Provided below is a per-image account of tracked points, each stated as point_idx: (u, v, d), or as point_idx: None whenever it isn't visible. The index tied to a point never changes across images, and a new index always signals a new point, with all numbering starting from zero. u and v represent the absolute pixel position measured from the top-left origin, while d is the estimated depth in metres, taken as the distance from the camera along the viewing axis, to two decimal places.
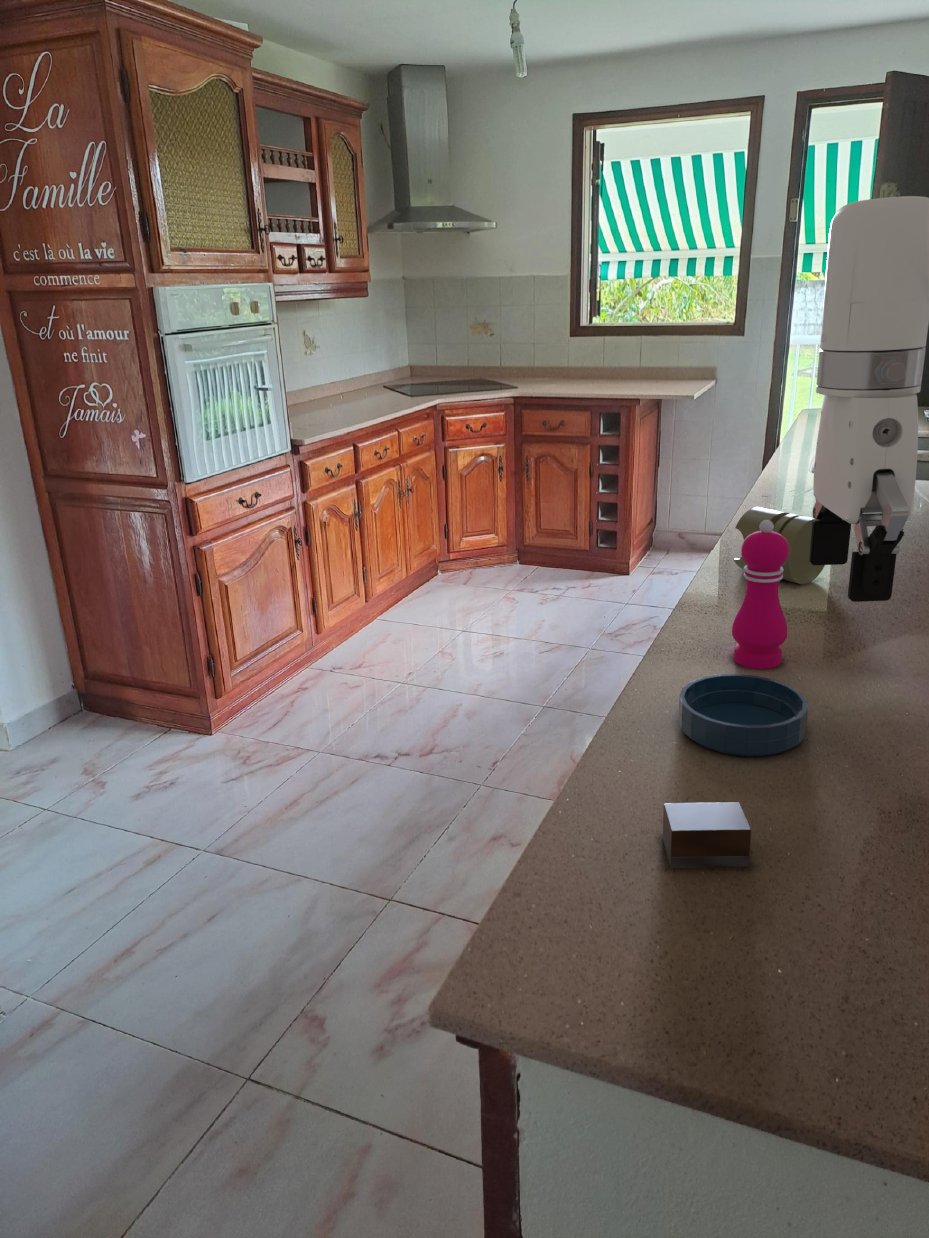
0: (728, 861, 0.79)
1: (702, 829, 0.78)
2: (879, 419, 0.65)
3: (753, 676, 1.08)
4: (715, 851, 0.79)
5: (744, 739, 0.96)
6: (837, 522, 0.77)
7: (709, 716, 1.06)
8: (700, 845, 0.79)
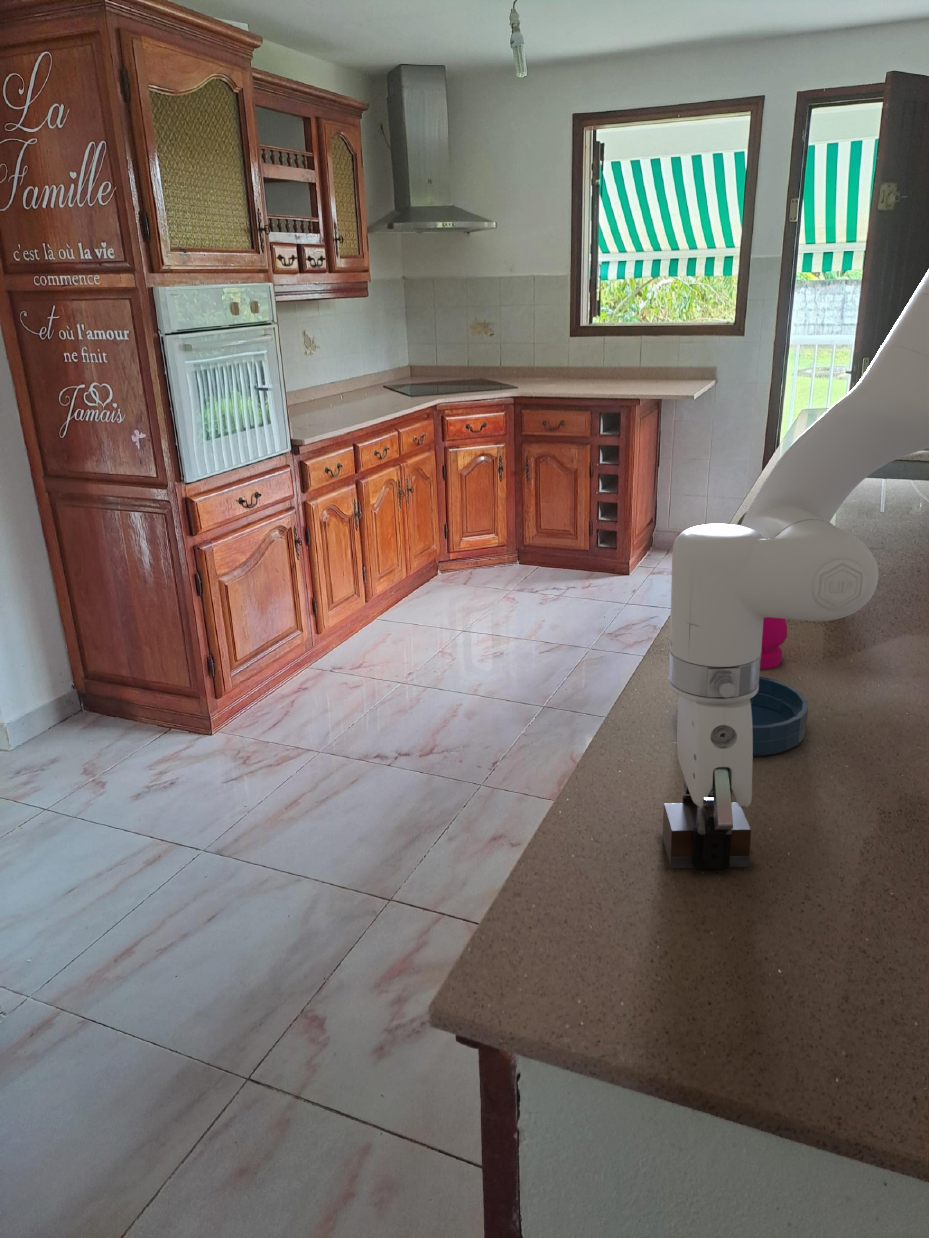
0: None
1: None
2: (716, 725, 0.72)
3: None
4: None
5: None
6: None
7: None
8: None
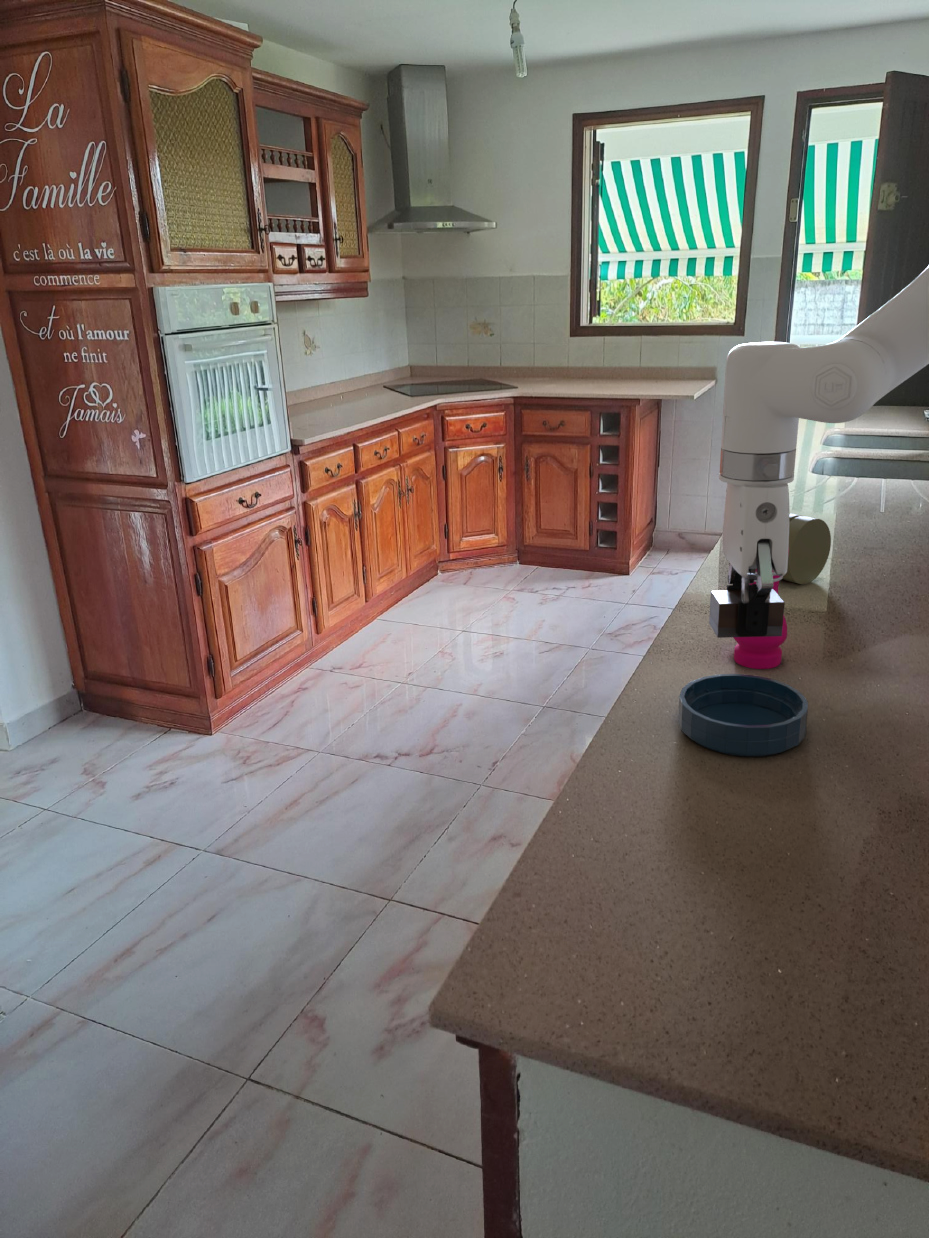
0: None
1: None
2: (760, 503, 0.89)
3: (753, 676, 1.08)
4: None
5: (744, 739, 0.96)
6: None
7: (709, 716, 1.06)
8: None
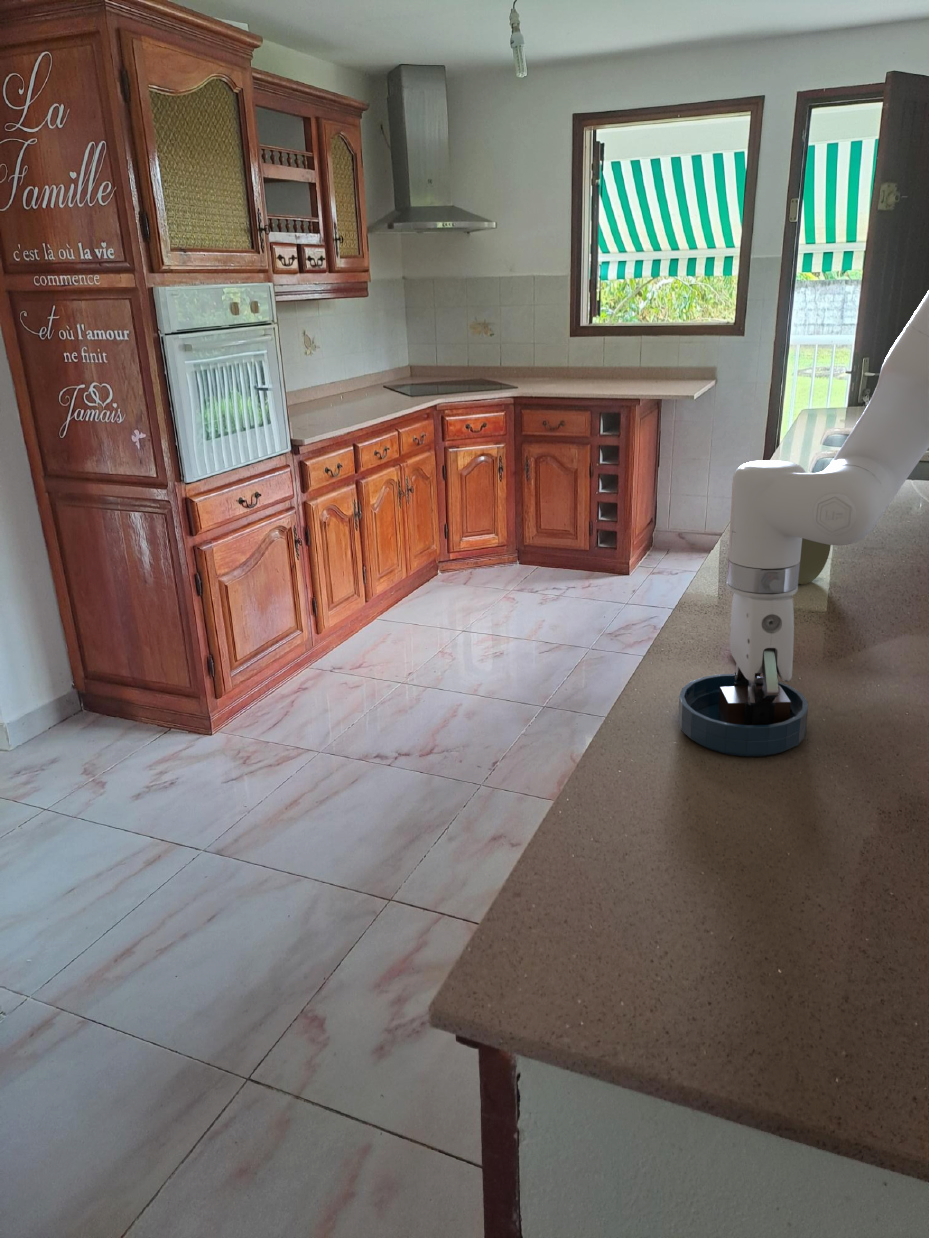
0: None
1: None
2: (766, 614, 0.94)
3: None
4: None
5: (744, 739, 0.96)
6: None
7: (709, 716, 1.06)
8: None
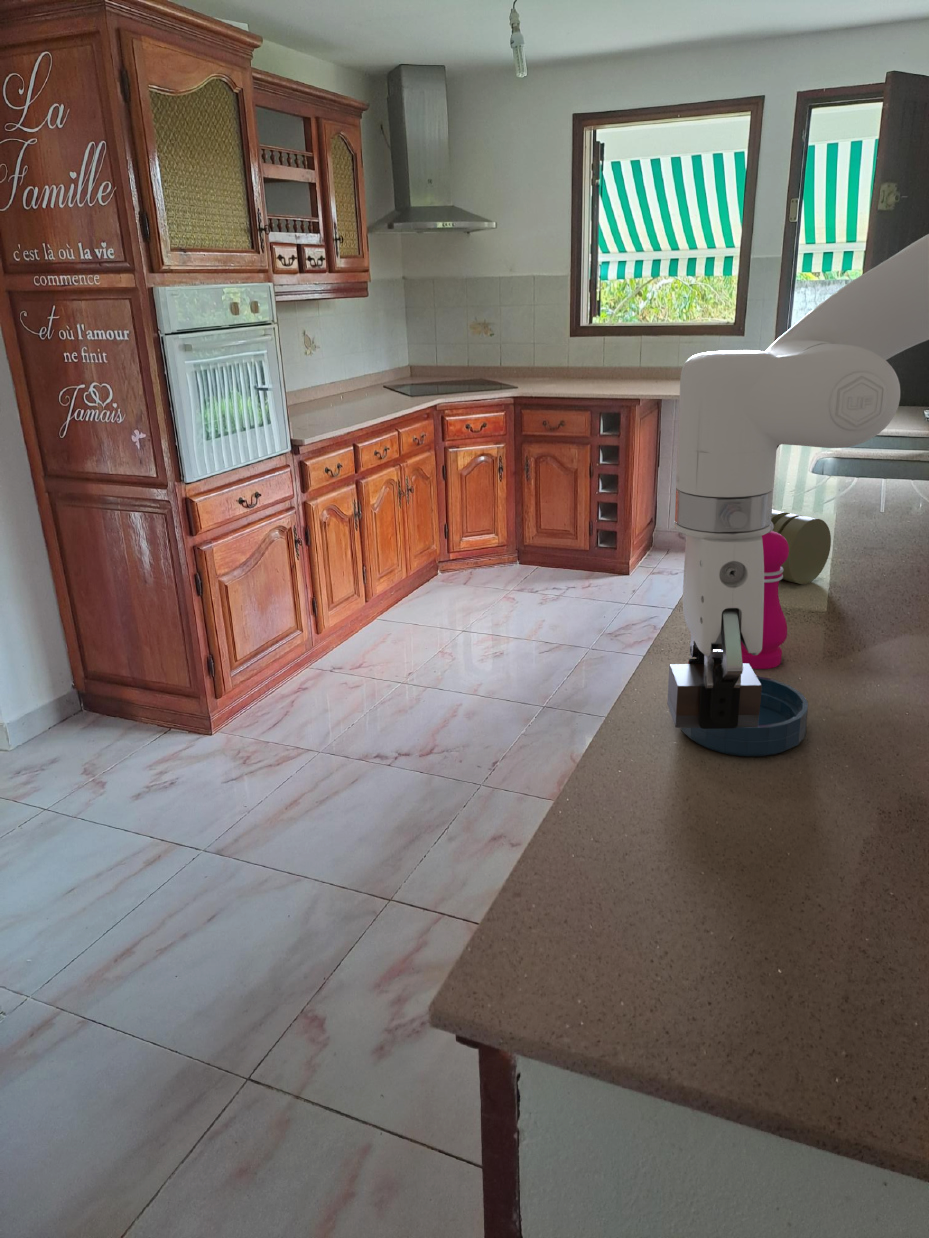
0: None
1: None
2: (725, 562, 0.68)
3: None
4: None
5: (744, 739, 0.96)
6: None
7: None
8: None
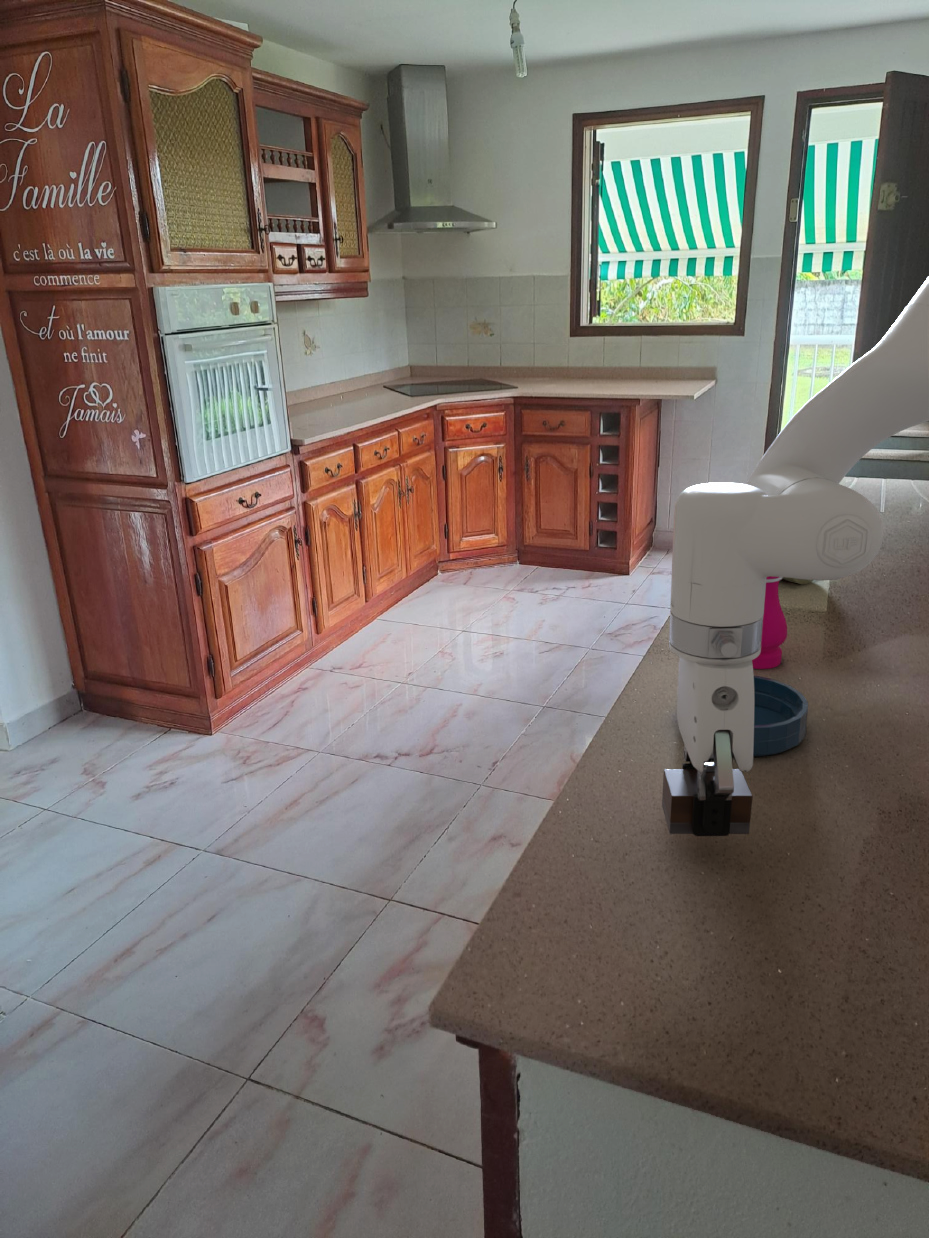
0: None
1: None
2: (717, 686, 0.71)
3: None
4: None
5: None
6: None
7: None
8: None
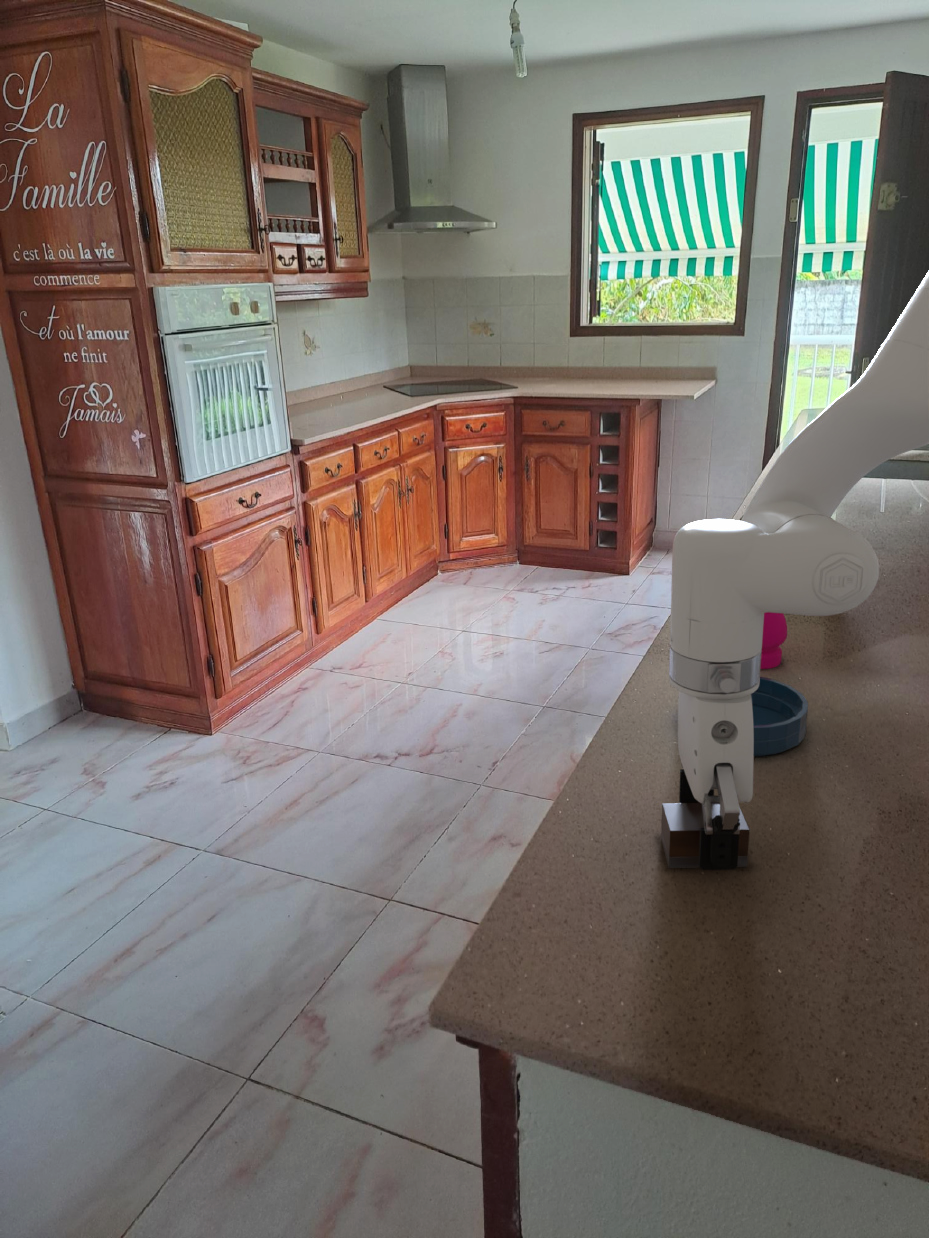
0: None
1: None
2: (717, 721, 0.72)
3: None
4: None
5: None
6: None
7: None
8: (699, 845, 0.79)
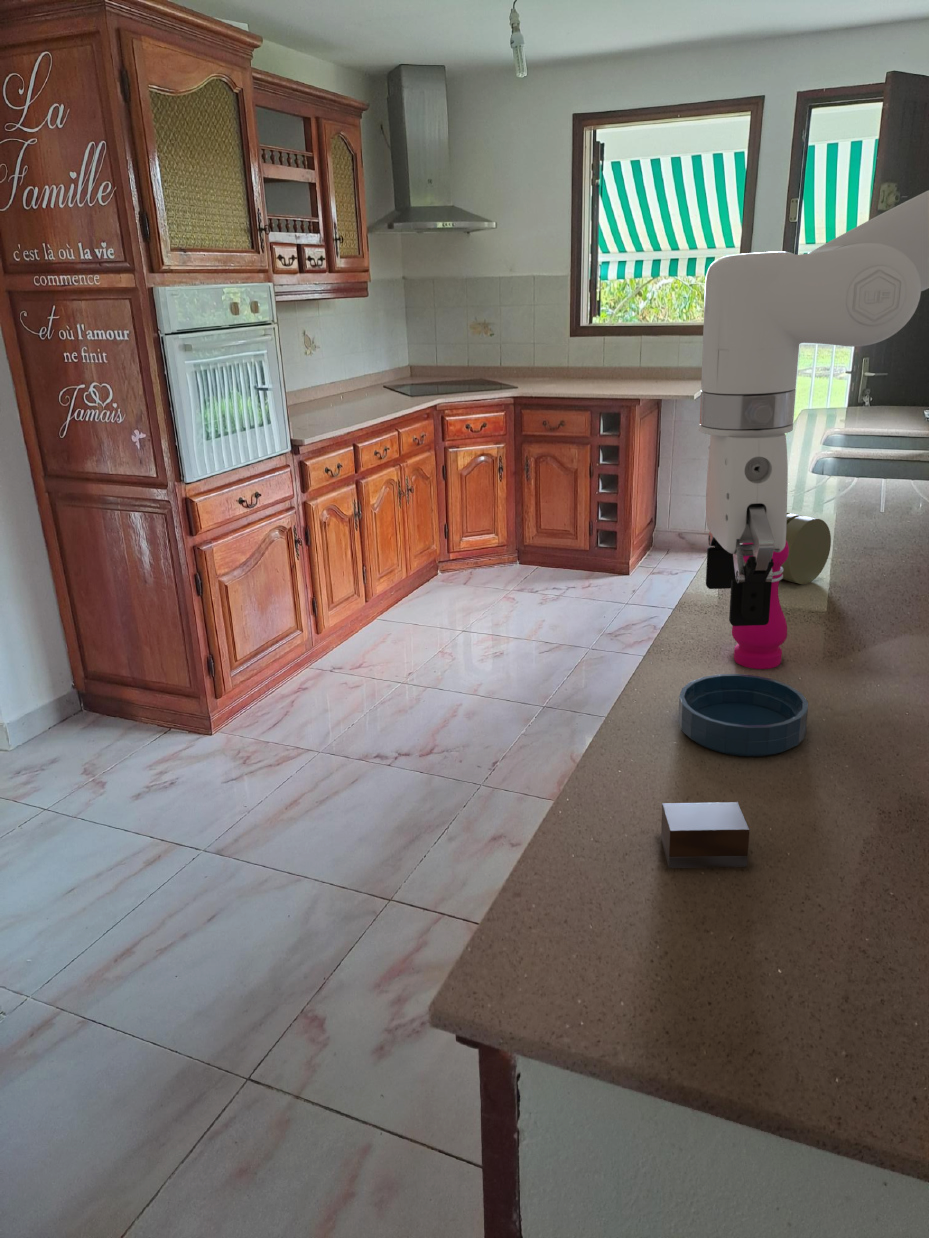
0: (726, 861, 0.79)
1: (700, 829, 0.78)
2: (750, 457, 0.70)
3: (753, 676, 1.08)
4: (714, 851, 0.79)
5: (744, 739, 0.96)
6: None
7: (709, 716, 1.06)
8: (699, 845, 0.79)
